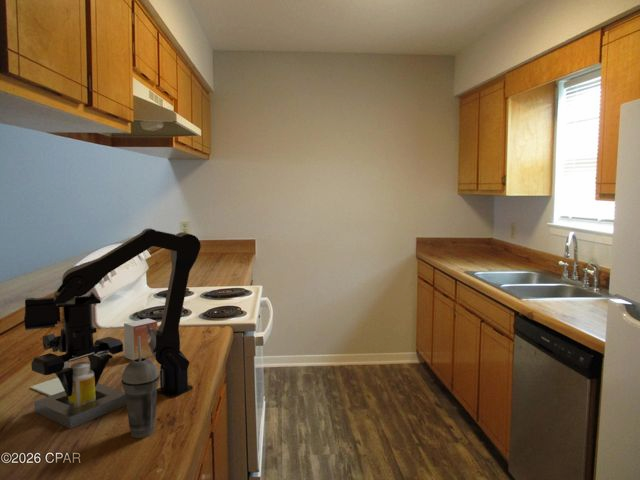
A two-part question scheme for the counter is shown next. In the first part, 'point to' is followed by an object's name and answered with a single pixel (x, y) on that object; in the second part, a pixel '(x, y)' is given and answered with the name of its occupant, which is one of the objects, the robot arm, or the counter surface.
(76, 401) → the supplement bottle
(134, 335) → the small box
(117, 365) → the counter surface
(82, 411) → the frame
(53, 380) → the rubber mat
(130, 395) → the beverage cup
